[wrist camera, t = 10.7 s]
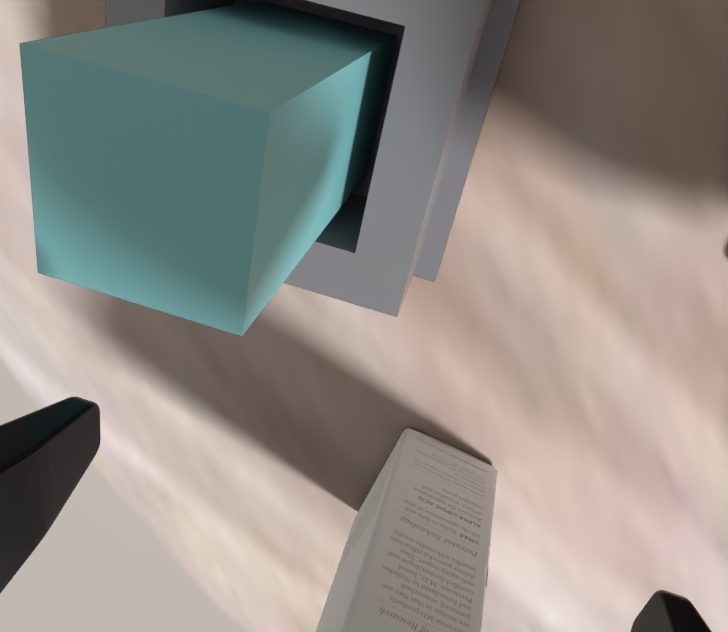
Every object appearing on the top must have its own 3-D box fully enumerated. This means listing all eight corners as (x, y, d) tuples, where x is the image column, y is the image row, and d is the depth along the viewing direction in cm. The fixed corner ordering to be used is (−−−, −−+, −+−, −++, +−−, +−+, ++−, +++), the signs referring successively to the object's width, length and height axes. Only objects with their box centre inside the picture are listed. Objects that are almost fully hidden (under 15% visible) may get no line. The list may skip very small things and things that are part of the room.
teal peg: (397, 35, 18) (269, 112, 9) (367, 171, 20) (242, 336, 11) (261, 0, 18) (20, 43, 10) (247, 138, 20) (38, 272, 12)
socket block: (539, -62, 17) (540, -66, 12) (438, 269, 22) (415, 345, 18) (184, -148, 18) (73, -179, 13) (169, 189, 23) (86, 244, 19)
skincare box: (441, 550, 29) (389, 884, 18) (350, 510, 29) (247, 819, 18) (504, 461, 25) (482, 806, 15) (400, 415, 25) (309, 727, 15)
